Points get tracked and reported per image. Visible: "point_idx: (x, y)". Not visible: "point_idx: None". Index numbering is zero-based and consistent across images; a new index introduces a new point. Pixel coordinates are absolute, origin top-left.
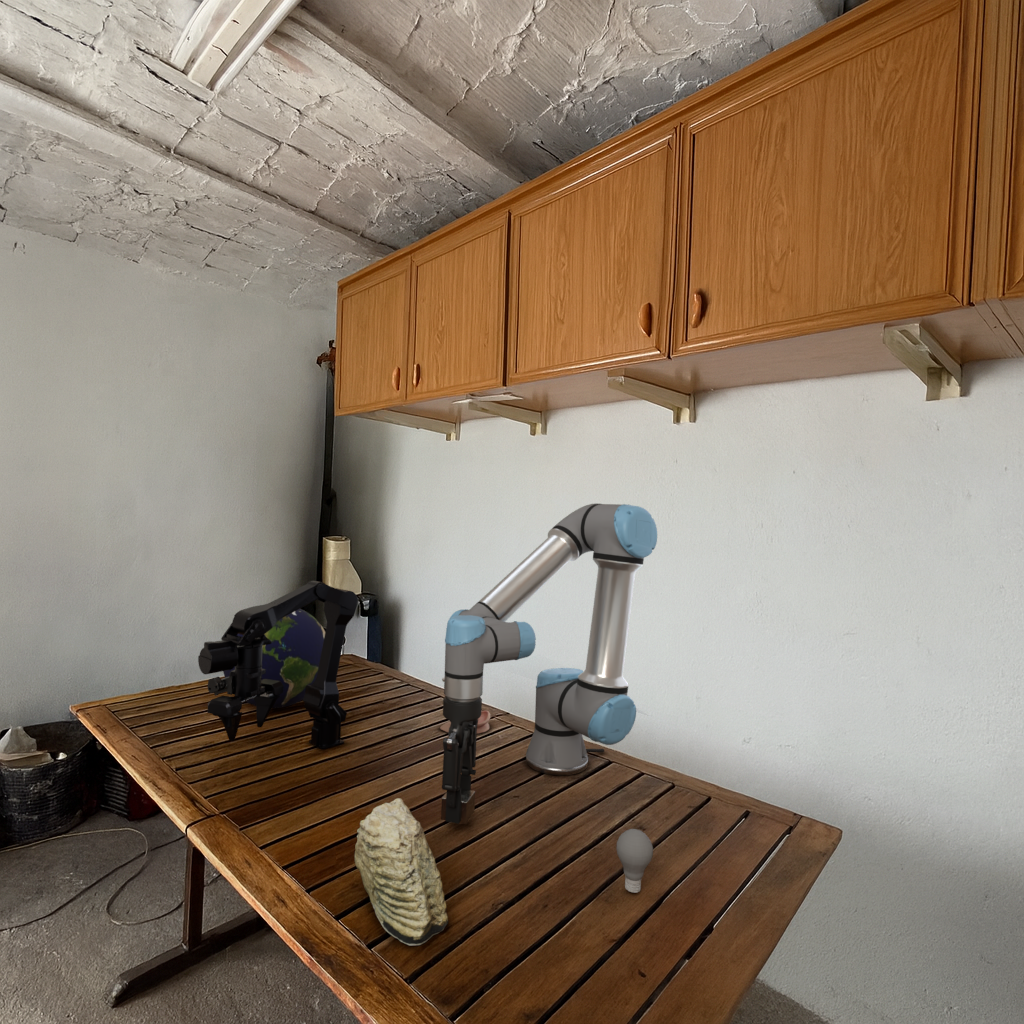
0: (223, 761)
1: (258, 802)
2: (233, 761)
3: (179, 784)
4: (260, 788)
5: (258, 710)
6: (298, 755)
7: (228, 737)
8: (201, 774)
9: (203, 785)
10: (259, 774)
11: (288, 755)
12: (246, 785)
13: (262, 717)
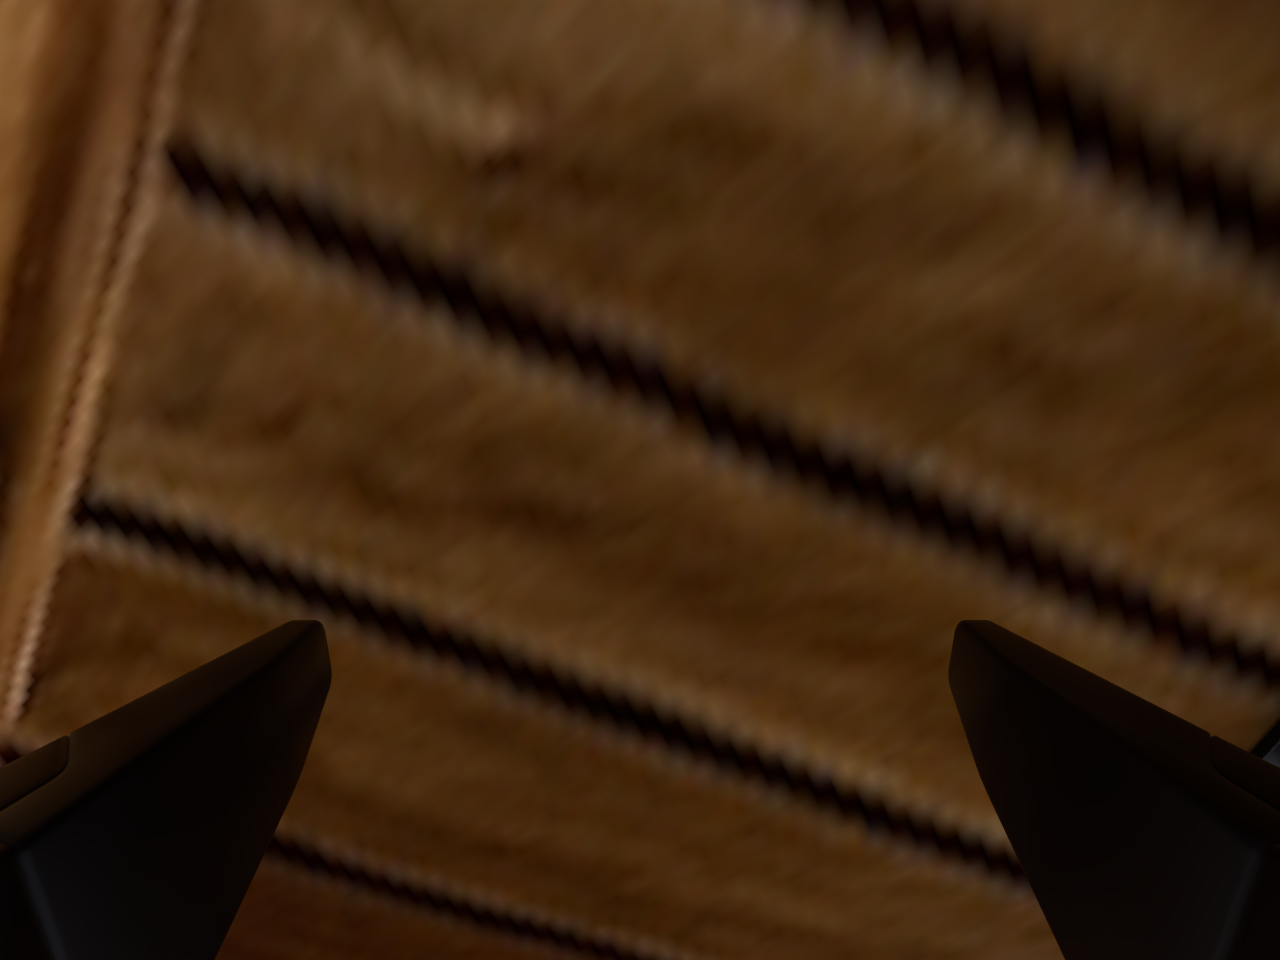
0: (741, 89)
1: None
2: (778, 198)
3: (97, 85)
4: (420, 758)
5: (1129, 819)
6: (1080, 663)
7: (258, 642)
8: (379, 117)
9: (218, 329)
10: (619, 611)
11: (1061, 590)
12: (408, 645)
13: (1024, 814)
